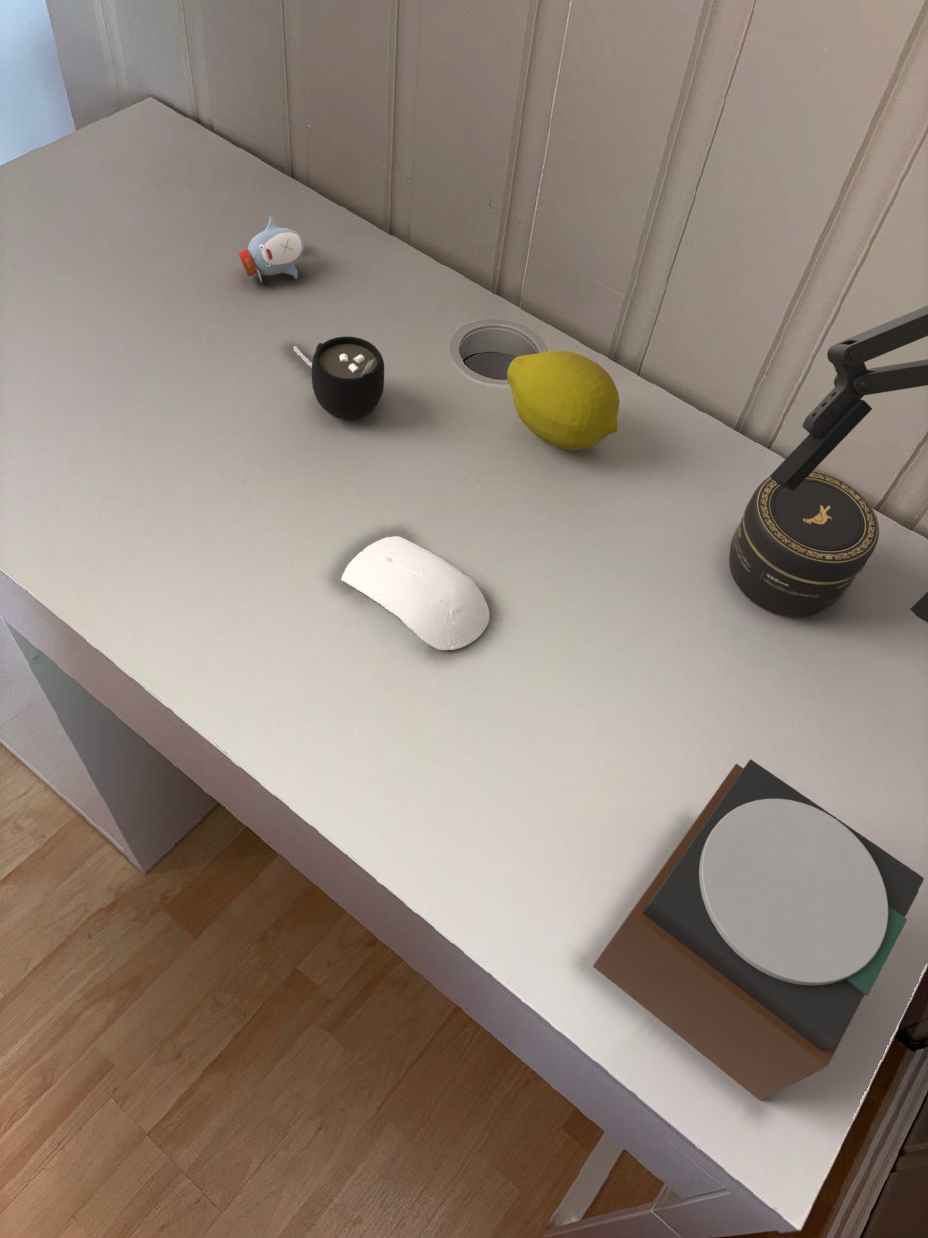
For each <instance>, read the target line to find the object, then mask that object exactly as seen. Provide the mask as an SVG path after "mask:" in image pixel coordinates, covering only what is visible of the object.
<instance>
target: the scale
mask: <svg viewBox="0 0 928 1238" xmlns="http://www.w3.org/2000/svg"><path fill="white" fill-rule="evenodd" d="M924 880H925V878H924V877H923V876H922V875H921V874H919V873H917V872H916V871H915V870H913V869H912V868H911V867H909V866H908V865H906V864H904V863H903V862H901V861H900V860H898V858H895V857H894V856H893V855H891V854H890V853H889V852H887V851H885V850H884V849H883V848H881V847H879V846H878V845H877V844H876V843H874V842H872V841H871V840H870V839H868V838H867V837H865V836H864V835H862V834H861V833H860V832H858V831H856V830H855V829H853V828H852V827H850V826H849V825H847V824H846V823H845V822H843V821H842V820H840V819H839V818H837V816H834V815H833V814H832V813H830V812H829V811H827V810H825V808H823V807H821V806H820V805H818V804H817V803H815V802H814V801H812V800H811V799H810V798H808V797H807V796H806V795H804V794H802V793H801V792H799V791H798V790H797V789H795V788H794V787H792V786H791V785H789V784H788V783H786V782H785V781H784V780H782V779H781V778H779V777H778V776H776V775H775V774H774V773H772V772H771V771H769V770H767V769H766V768H764V767H763V766H762V765H760V764H759V763H757V762H756V761H755V760H752V759H749V760H748V761H747V763H746V764H745V765H744V766H743V767H742V766H741V765H739V764H738V763H735V764H734V765H733V767H732V768H731V770H730V771H729V772H728V773H727V775H726V776H725V778H724V780H723V781H722V782H721V784H720V785H719V787H718V788H717V790H716V791H715V792H714V793H713V795H712V797H711V798H710V799H709V801H708V802H707V804H706V805H705V807H704V808H703V809H702V810H701V812H700V813H699V815H698V817H696V819H695V821H694V822H693V823H692V825H691V826H690V828H689V829H687V831H686V833H685V835H684V836H683V838H682V839H681V840H680V842H679V843H678V844H677V846H676V848H675V849H674V850H673V852H672V853H671V854H670V856H669V858H668V859H667V860H666V861H665V863H664V864H663V865H662V867H661V869H660V870H659V871H658V873H657V874H656V875H655V877H654V878H653V880H651V883H650V884H649V886H648V887H647V889H646V890H645V891H644V892H643V894H642V896H641V897H640V898H639V900H638V901H637V902H636V904H635V905H634V907H633V908H632V910H631V911H630V912H629V914H628V915H627V917H626V918H625V919H624V921H623V923H622V924H621V925H620V927H619V928H618V930H616V932H615V934H614V935H613V936H612V938H611V939H610V940H609V942H608V944H607V945H606V946H605V948H604V949H603V951H602V952H601V953H600V955H599V956H598V957H597V959H596V961H595V962H594V963H593V965H592V967H593V968H594V969H596V970H597V971H598V972H599V973H600V974H602V975H603V976H604V977H606V978H607V979H608V980H609V981H611V982H612V983H613V984H614V985H615V986H617V987H618V988H619V989H620V990H622V991H623V992H624V993H625V994H627V995H628V996H629V997H631V998H632V999H633V1000H634V1001H635V1002H636V1003H638V1004H639V1005H641V1007H643V1008H644V1009H646V1011H648V1012H649V1013H650V1014H651V1015H652V1016H654V1017H655V1018H657V1019H658V1020H659V1021H660V1022H661V1023H663V1024H664V1025H665V1026H666V1027H668V1028H669V1029H670V1030H671V1031H673V1032H674V1033H675V1034H676V1035H677V1036H678V1037H680V1038H681V1039H683V1040H684V1041H685V1042H687V1043H688V1044H689V1045H690V1046H692V1047H693V1048H694V1049H695V1050H697V1051H698V1052H699V1053H700V1054H702V1055H703V1057H705V1058H707V1059H708V1060H709V1061H710V1062H711V1063H713V1064H714V1065H715V1066H716V1067H717V1068H719V1069H720V1070H721V1071H722V1072H724V1073H725V1074H726V1075H728V1077H730V1078H731V1079H733V1080H734V1081H735V1082H737V1083H738V1084H739V1086H741V1087H743V1088H744V1089H745V1090H746V1091H748V1092H749V1093H750V1094H751V1095H752V1096H753V1097H754V1098H756V1099H757V1100H759V1101H761V1100H764V1099H766V1098H767V1097H770V1096H771V1095H774V1094H775V1093H778V1092H779V1091H781V1090H784V1089H785V1088H787V1087H789V1086H791V1085H793V1084H795V1083H797V1082H799V1081H801V1080H804V1079H806V1078H807V1077H810V1076H812V1075H813V1074H816V1073H817V1072H819V1071H821V1070H824V1069H826V1068H827V1067H828V1066H829V1064H830V1062H831V1060H832V1058H833V1056H834V1054H835V1053H836V1050H837V1048H838V1047H839V1045H840V1043H841V1041H842V1039H843V1037H844V1035H845V1033H846V1031H847V1029H848V1027H849V1026H850V1024H851V1021H852V1020H853V1018H854V1016H855V1014H856V1012H857V1011H858V1008H859V1006H860V1004H861V1003H862V1001H863V999H864V997H866V996H868V995H869V994H870V993H871V990H872V988H873V987H874V984H875V982H876V981H877V979H878V977H879V975H880V973H881V971H882V969H883V967H884V966H885V964H886V961H887V959H888V958H889V956H890V953H891V952H892V950H893V948H894V946H895V944H896V942H897V940H898V939H899V936H900V934H901V932H902V931H903V928H904V927H905V925H906V923H907V921H908V919H907V918H906V916H907V915H908V913H909V911H910V909H911V907H912V905H913V903H914V901H915V899H916V897H917V895H918V893H919V892H920V888H921V886H922V884H923V882H924Z"/></svg>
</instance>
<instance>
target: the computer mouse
mask: <svg viewBox="0 0 928 1238" xmlns="http://www.w3.org/2000/svg"><path fill="white" fill-rule="evenodd" d="M340 580H341V581H342V582H344V583H345V584H347V585H348V586H351V587H352V588H354V589H356V590H357V591H359V592H361V593H363V594H364V595H365V596H368V598H370V599H372V600H373V601H374V602H376V603H378V604H380V606H381V607H383V608H384V609H386V610H387V611H388V612H391V613H392V614H394V615H395V616H396V617H397V618H399V619H400V621H402V623H404V625H406V626H407V627H408V628H409V629H410V630H411V631H413V632H414V634H415V635H416V636H418V637H419V638H420V640H422V641H423V642H425V643H426V644H427V645H429V646H430V647H432V648H434V649H436V650H439V651H449V650H453V651H455V650H457V649H462V648H463V647H466V646H468V645H470V644H472V643H473V642H474V641H476V640H477V639H478V638H479V637H480V636H481V635H482V634H483V633H484V631H485V630H486V628H487V627H488V625H489V622H490V609H489V606H488V603H487V600H486V598H485V596H484V594H483V593H482V591H481V589H480V588H479V586H478V585H477V584H476V582H474V580H473V579H471V577H470V576H468V575H467V574H466V575H465V574H464V573H463V572H462V571H460V570H459V569H458V568H456V567H455V566H453V565H452V564H451V563H449V562H448V561H446V560H444V559H443V558H442V557H439V556H438V555H436V554H435V553H433V552H431V551H429V550H427V549H425V548H423V547H421V546H420V545H418V544H416V543H414V542H412V541H410V540H408V539H406V538H404V537H401V536H400V535H398V536H396V535H393V536H386V537H384V538H381V539H379V540H377V541H374V542H373V543H371V544H369V545H367V546H366V547H365V548H364V549H363V550H361V551H359V553H358V554H357V555H356V556H355V557H353V559H352V560H351V561H350V562H349V563H348V564H347V566H346V567H345V569H344V572H342V576H341V579H340Z"/></svg>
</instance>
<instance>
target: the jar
mask: <svg viewBox="0 0 928 1238" xmlns="http://www.w3.org/2000/svg"><path fill="white" fill-rule="evenodd" d="M879 536H880V526H879V520H878V517H877V515H876V513H875V511H874V509H873V507H872V506H871V504H870V502H869V501H868V500H867V499H866V498H865V497H864V496H863V494H861V493H860V491H858V490H857V489H855V488H854V487H853V486H851V484H849V483H847V482H845V481H843V480H842V479H841V478H838V477H836V476H834V475H831V474H829V473H825V472H822V471H819V470H815V469H814V470H813V471H812V472H811V473H810V474H809V475H808V476H807V477H806V479H805V480H804V481H803V482H802V483H801V484H800V485H799V486H798V487H797V488H796V489H795V490H794V491H791V490H789V489H787V488H785V487H783V486H781V485H779V484H778V483H776V482H775V481H774V480H773V479H772V478H771V477H770V476H768V477H767V478H766V479H765V480H763V481H762V482H761V483H760V484H759V486H757V487H756V489H755V490H754V492H753V494H752V496H751V498H750V499H749V501H748V502H747V505H746V507H745V509H744V511H743V516H742V517H741V519H740V522H739V523H738V525H737V527H736V530H735V532H734V533H733V536H732V538H731V543H730V546H729V555H728V557H729V559H728V565H729V570H730V574H731V576H732V578H733V581H734V582H735V584H736V586H737V587H738V588H739V590H740V591H741V592H742V593H743V595H745V596H746V597H747V598H748V599H749V600H750V601H751V602H752V603H754V604H755V605H757V606H758V607H760V608H762V609H764V610H766V611H768V612H771V613H773V614H777V615H781V616H787V617H807V616H813V615H816V614H818V613H820V612H822V611H825V610H827V609H828V608H829V607H830V606H832V605H834V604H835V603H836V602H837V601H838V600H840V598H842V596H843V595H844V594H845V593H846V591H847V590H848V588H850V586H851V585H852V583H853V581H854V580H855V579H856V577H857V575H859V574H860V573H862V572H863V570H864V568H865V567H866V566H867V564H868V563H869V561H870V558H871V556H872V554H873V552H874V551H875V549H876V547H877V545H878V541H879Z"/></svg>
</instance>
